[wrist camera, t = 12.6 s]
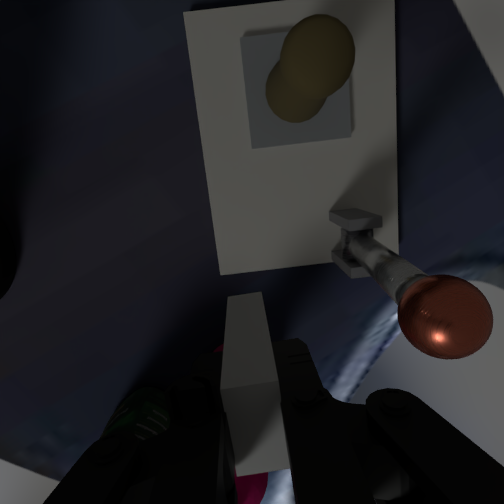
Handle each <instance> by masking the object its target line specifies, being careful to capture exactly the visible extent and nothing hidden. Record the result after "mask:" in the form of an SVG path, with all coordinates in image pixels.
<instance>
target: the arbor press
mask: <svg viewBox="0 0 504 504" xmlns="http://www.w3.org/2000/svg"><path fill="white" fill-rule="evenodd" d="M183 14H184V21H185V29H186V36H187V43H188V50H189V57H190V64H191V71H192V78H193V85H194V92H195V99H196V106H197V113H198V120H199V127H200V134H201V141H202V148H203V155H204V162H205V170H206V177H207V184H208V191H209V198H210V205H211V212H212V219H213V226H214V233H215V240H216V247H217V254H218V261H219V268H220V275H227V274H236V273H244V272H253V271H261V270H270V269H278V268H286V267H295V266H303V265H312V264H320V263H329V262H335V263H336V264H337V265H338V266H339V267H340V268H341V269H342V270H343V271H344V272H345V273H346V274H347V275H348V276H349V277H350V278H351V279H352V278H361V277H369V276H371V275H370V274H369V273H368V272H367V271H366V270H365V269H364V268H363V267H362V266H361V265H360V264H359V262H358V261H352V260H346V259H343V258H342V247H341V228H344V229H346V230H347V231H356V230H365V229H373V234H374V239H376V240H377V241H379V242H380V243H381V244H383V245H384V246H386V247H387V248H389V249H390V250H392V251H393V252H395V253H396V254H399V253H398V190H397V127H396V65H395V2H394V0H284V1H275V2H267V3H258V4H250V5H241V6H233V7H224V8H215V9H207V10H198V11H190V12H183ZM314 14H327V15H330V16H333V17H335V18H338V19H339V20H340V21H341V22H342V23H343V24H345V25H346V26H347V28H348V30H349V31H350V33H351V35H352V36H353V40H354V45H355V62H354V66H353V69H352V71H351V74H350V77H349V78H348V79H347V81H346V82H345V84H344V85H343V86H342V87H341V88H340V89H339V90H337V91H336V92H335V93H333V94H332V95H330V96H328V97H327V99H326V101H325V103H324V105H323V107H322V108H321V109H320V111H319V112H318V114H316V115H315V116H314V117H312V118H311V119H310V120H307V121H304V122H301V123H290V122H287V121H284V120H282V119H280V118H279V117H278V116H277V115H275V114H274V113H273V111H272V110H271V108H270V107H269V105H268V102H267V99H266V95H265V94H266V81H267V78H268V75H269V73H270V72H271V70H272V69H273V67H274V66H275V65H276V63H277V62H278V61H279V60H280V52H281V49H282V46H283V42H284V39H285V37H286V36H287V34H288V33H289V31H290V30H291V28H292V27H293V26H295V25H296V24H297V23H298V22H300V21H301V20H302V19H304V18H306V17H309V16H311V15H314Z"/></svg>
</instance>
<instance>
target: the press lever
mask: <svg viewBox="0 0 504 504" xmlns="http://www.w3.org/2000/svg"><path fill="white" fill-rule="evenodd" d="M341 247H342V258H343V259H346V260H352V261H358V262H359V264H360V265H361V266H362V267H363V268H364V269H365V270H366V271H367V272H368V273H369V274H370V275H371V277H372V278H373V279H374V280H375V281H376V282H377V283H378V284H379V285H380V286H381V287H382V288H383V290H384V291H385V292H386V293H387V294H388V295H389V296H390V297H391V298H392V299H393V300H394V301H395V303H396V304H397V305H398V322H399V325H400V328H401V330H402V332H403V334H404V335H405V337H406V338H407V340H408V341H409V342H410V343H411V344H412V345H413V346H414V347H415V348H417V349H418V350H420V351H421V352H423V353H425V354H427V355H429V356H432V357H436V358H440V359H460V358H464V357H467V356H469V355H471V354H473V353H475V352H476V351H478V350H479V349H480V348H482V346H484V344H485V343H486V342H487V340H488V339H489V337H490V335H491V332H492V328H493V314H492V310H491V307H490V304H489V303H488V301H487V299H486V297H485V296H484V295H483V293H482V292H481V291H480V290H479V289H478V288H477V287H475V286H474V285H472V284H471V283H470V282H468V281H466V280H464V279H461V278H459V277H455V276H451V275H431V276H428V275H427V274H425V273H424V272H422V271H421V270H420V269H418V268H417V267H415V266H414V265H412V264H411V263H409V262H408V261H406V260H405V259H403V258H402V257H401V256H399V255H398V254H396V253H395V252H393V251H392V250H390V249H389V248H387V247H386V246H384V245H383V244H381V243H380V242H379V241H377V240H376V239H374V234H373V229H365V230H356V231H347V230H346V229H344V228H341Z"/></svg>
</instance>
